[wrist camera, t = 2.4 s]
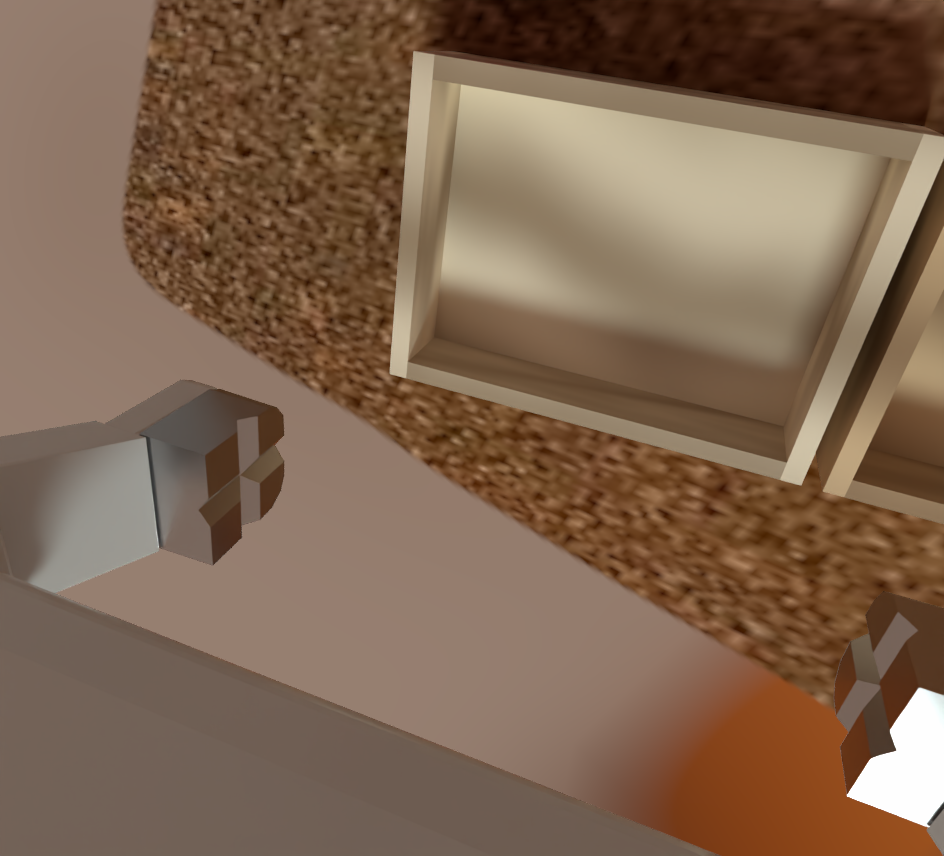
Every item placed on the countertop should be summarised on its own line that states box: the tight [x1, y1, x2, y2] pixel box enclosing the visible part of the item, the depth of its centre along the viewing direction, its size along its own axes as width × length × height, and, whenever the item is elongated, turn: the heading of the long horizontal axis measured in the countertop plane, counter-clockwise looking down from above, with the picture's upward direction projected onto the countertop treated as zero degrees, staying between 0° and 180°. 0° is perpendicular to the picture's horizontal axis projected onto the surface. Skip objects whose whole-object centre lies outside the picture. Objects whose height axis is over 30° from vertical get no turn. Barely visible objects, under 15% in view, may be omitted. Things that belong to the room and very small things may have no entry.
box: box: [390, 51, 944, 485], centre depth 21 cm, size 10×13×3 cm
